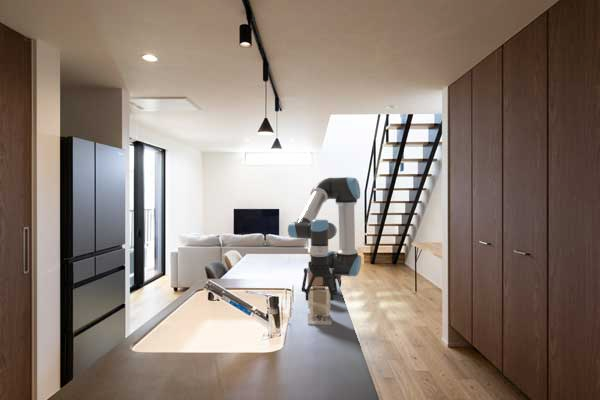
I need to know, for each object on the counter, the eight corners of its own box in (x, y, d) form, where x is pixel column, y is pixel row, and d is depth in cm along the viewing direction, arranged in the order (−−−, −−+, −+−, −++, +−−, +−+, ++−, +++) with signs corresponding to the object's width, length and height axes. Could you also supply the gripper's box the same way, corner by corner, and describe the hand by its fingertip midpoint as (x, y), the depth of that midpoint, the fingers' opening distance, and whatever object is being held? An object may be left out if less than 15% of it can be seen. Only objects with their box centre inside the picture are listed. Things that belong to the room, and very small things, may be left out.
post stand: (307, 316, 163) (307, 287, 163) (329, 317, 163) (330, 287, 163) (307, 324, 153) (307, 293, 153) (331, 324, 153) (331, 293, 153)
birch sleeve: (309, 309, 162) (309, 286, 162) (327, 309, 162) (327, 286, 162) (310, 314, 154) (310, 290, 154) (329, 314, 154) (329, 291, 154)
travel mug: (323, 299, 193) (323, 261, 193) (322, 303, 185) (322, 263, 186) (308, 298, 194) (308, 260, 194) (307, 302, 186) (307, 263, 186)
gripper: (295, 256, 155) (294, 310, 154) (344, 256, 154) (344, 310, 154) (295, 253, 162) (295, 305, 162) (342, 254, 162) (342, 305, 162)
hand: (319, 307), depth 158 cm, fingers closed on birch sleeve, 8 cm apart
